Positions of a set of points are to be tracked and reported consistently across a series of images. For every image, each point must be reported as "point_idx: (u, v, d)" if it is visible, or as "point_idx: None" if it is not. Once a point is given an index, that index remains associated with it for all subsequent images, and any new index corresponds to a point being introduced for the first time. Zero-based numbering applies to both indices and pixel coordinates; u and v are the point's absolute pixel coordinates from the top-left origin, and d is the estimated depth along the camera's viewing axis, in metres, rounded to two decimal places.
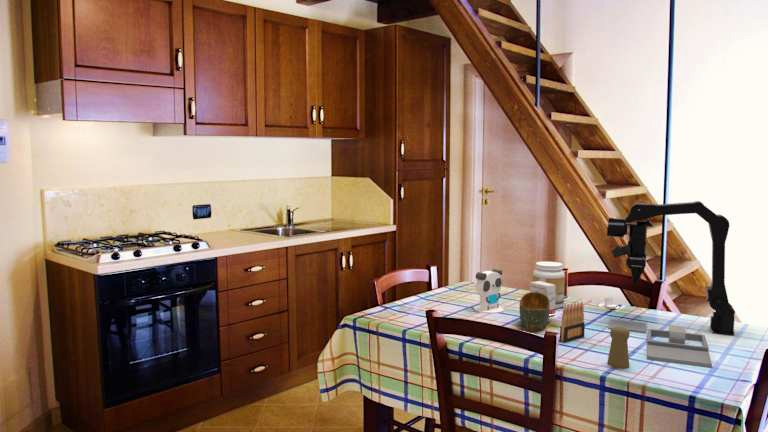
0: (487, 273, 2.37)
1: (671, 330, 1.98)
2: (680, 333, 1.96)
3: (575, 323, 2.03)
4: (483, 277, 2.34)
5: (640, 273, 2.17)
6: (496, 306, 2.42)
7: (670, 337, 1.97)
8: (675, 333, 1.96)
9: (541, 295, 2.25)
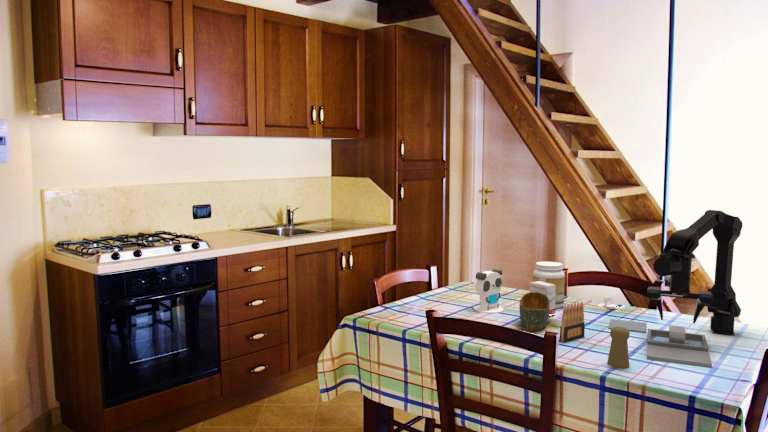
0: (487, 273, 2.37)
1: (671, 330, 1.98)
2: (680, 333, 1.96)
3: (575, 323, 2.03)
4: (483, 277, 2.34)
5: None
6: (496, 306, 2.42)
7: (670, 337, 1.97)
8: (675, 333, 1.96)
9: (541, 295, 2.25)
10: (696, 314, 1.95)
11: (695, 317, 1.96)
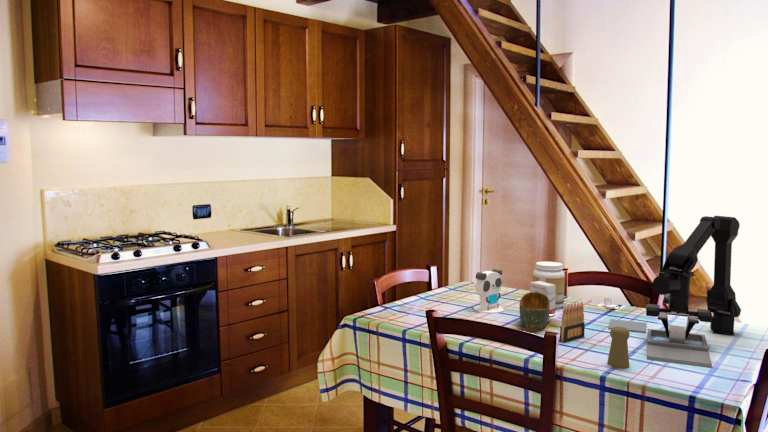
0: (487, 273, 2.37)
1: (671, 330, 1.98)
2: (680, 333, 1.96)
3: (575, 323, 2.03)
4: (483, 277, 2.34)
5: (664, 326, 1.99)
6: (496, 306, 2.42)
7: (670, 337, 1.97)
8: (675, 333, 1.96)
9: (541, 295, 2.25)
10: (687, 331, 1.97)
11: (686, 334, 1.97)
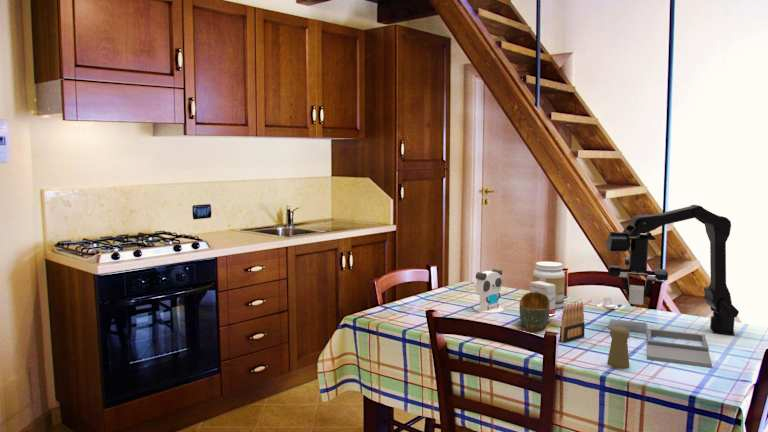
0: (487, 273, 2.37)
1: (631, 288, 2.13)
2: (639, 290, 2.11)
3: (575, 323, 2.03)
4: (483, 277, 2.34)
5: None
6: (496, 306, 2.42)
7: (630, 294, 2.12)
8: (634, 290, 2.11)
9: (541, 295, 2.25)
10: (645, 289, 2.12)
11: (644, 292, 2.12)
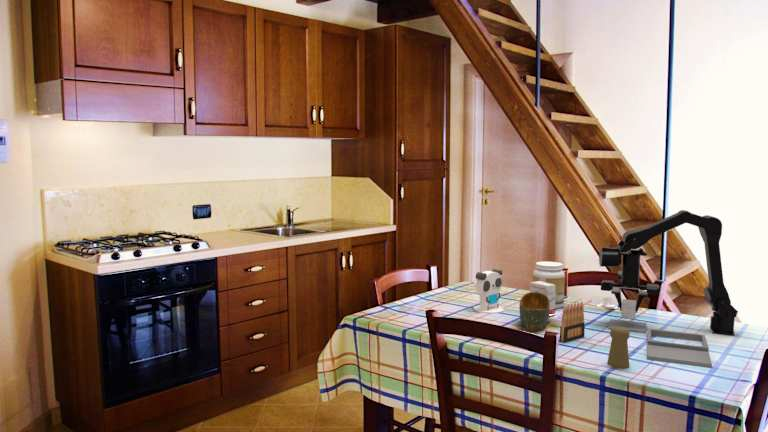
0: (487, 273, 2.37)
1: (623, 303, 2.17)
2: (631, 305, 2.15)
3: (575, 323, 2.03)
4: (483, 277, 2.34)
5: (617, 299, 2.18)
6: (496, 306, 2.42)
7: (622, 309, 2.16)
8: (626, 305, 2.15)
9: (541, 295, 2.25)
10: (637, 304, 2.16)
11: (637, 307, 2.16)
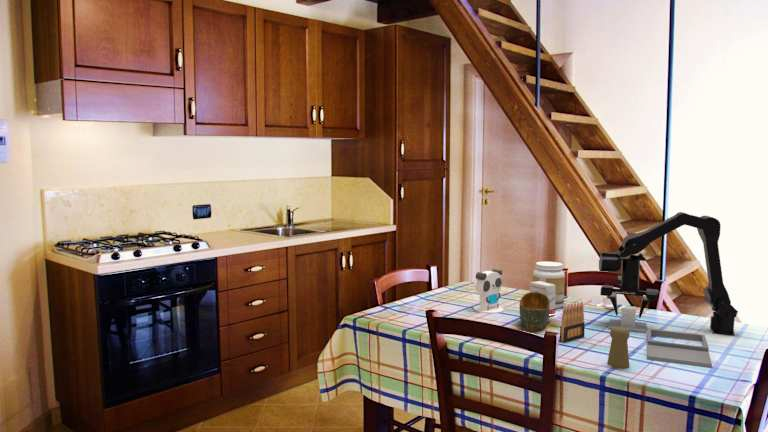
0: (487, 273, 2.37)
1: (623, 312, 2.17)
2: (631, 314, 2.15)
3: (575, 323, 2.03)
4: (483, 277, 2.34)
5: None
6: (496, 306, 2.42)
7: (622, 318, 2.16)
8: (626, 314, 2.16)
9: (541, 295, 2.25)
10: (641, 309, 2.15)
11: (640, 312, 2.16)
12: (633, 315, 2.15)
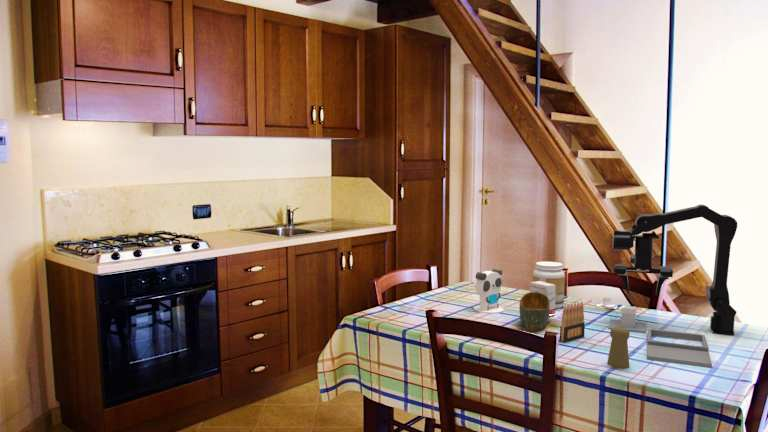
0: (487, 273, 2.37)
1: (623, 312, 2.17)
2: (631, 314, 2.15)
3: (575, 323, 2.03)
4: (483, 277, 2.34)
5: (624, 282, 2.21)
6: (496, 306, 2.42)
7: (622, 318, 2.16)
8: (626, 314, 2.16)
9: (541, 295, 2.25)
10: (658, 287, 2.17)
11: (657, 290, 2.17)
12: (633, 315, 2.15)
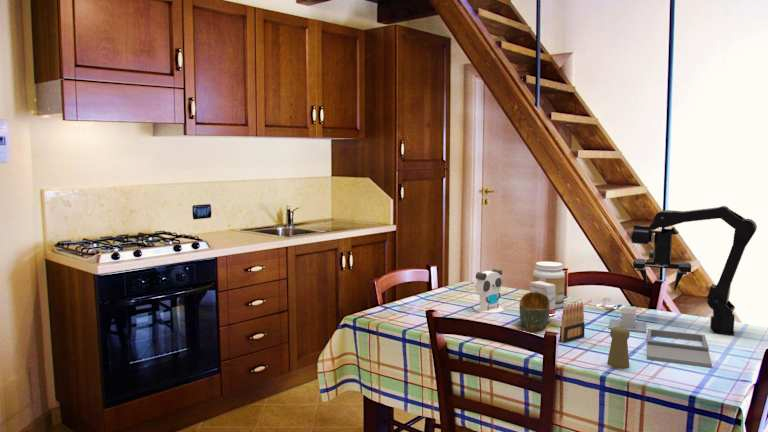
0: (487, 273, 2.37)
1: (623, 312, 2.17)
2: (631, 314, 2.15)
3: (575, 323, 2.03)
4: (483, 277, 2.34)
5: (642, 276, 2.25)
6: (496, 306, 2.42)
7: (622, 318, 2.16)
8: (626, 314, 2.16)
9: (541, 295, 2.25)
10: (676, 282, 2.20)
11: (675, 285, 2.21)
12: (633, 315, 2.15)
